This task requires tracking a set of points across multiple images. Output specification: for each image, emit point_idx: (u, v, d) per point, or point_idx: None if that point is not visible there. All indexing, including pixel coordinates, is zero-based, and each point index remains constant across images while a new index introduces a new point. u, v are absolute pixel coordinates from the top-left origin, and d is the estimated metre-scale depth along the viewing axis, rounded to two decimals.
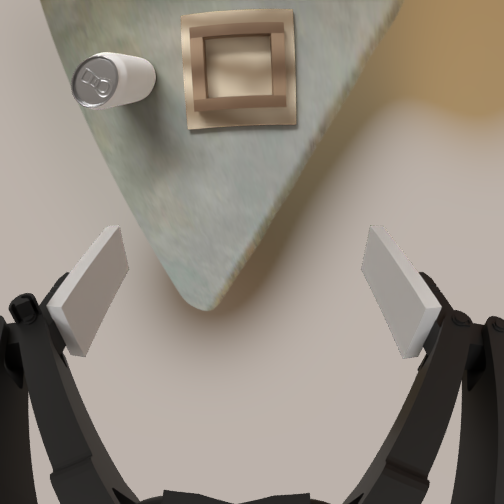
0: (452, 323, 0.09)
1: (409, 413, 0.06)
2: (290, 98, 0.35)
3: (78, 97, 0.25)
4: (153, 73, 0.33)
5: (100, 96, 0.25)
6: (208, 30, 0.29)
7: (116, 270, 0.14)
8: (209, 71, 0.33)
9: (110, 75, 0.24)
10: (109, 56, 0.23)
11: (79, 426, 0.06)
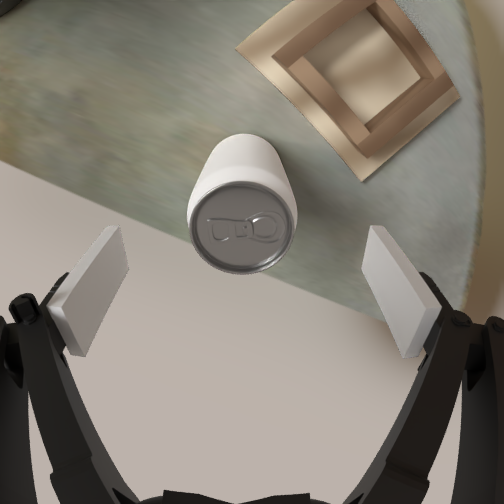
0: (452, 323, 0.09)
1: (409, 413, 0.06)
2: None
3: (231, 266, 0.18)
4: (269, 144, 0.24)
5: (271, 243, 0.17)
6: (302, 42, 0.18)
7: (116, 270, 0.14)
8: None
9: (264, 204, 0.16)
10: (231, 176, 0.16)
11: (79, 426, 0.06)
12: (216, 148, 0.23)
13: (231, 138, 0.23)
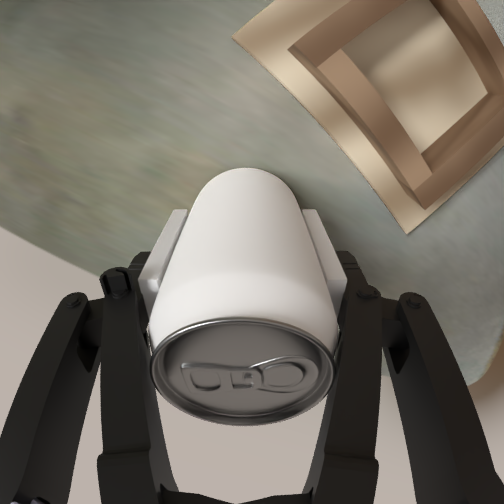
0: (358, 298, 0.10)
1: (334, 398, 0.07)
2: None
3: (226, 415, 0.10)
4: (284, 186, 0.16)
5: (293, 392, 0.09)
6: (340, 26, 0.10)
7: None
8: None
9: (284, 346, 0.08)
10: (221, 297, 0.08)
11: (146, 415, 0.06)
12: (203, 195, 0.15)
13: (226, 177, 0.16)
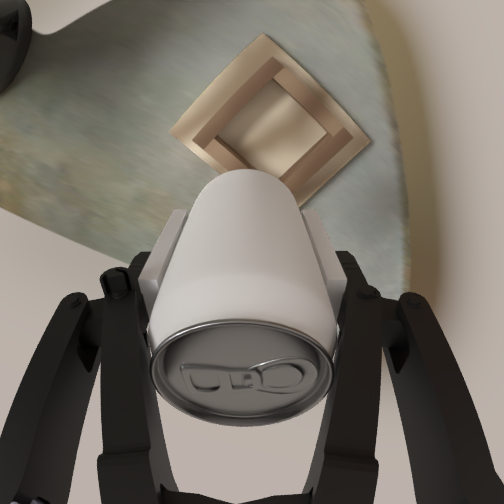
0: (358, 298, 0.10)
1: (334, 398, 0.07)
2: (345, 121, 0.29)
3: (225, 415, 0.10)
4: (283, 187, 0.16)
5: (292, 393, 0.09)
6: (212, 127, 0.27)
7: None
8: (250, 160, 0.31)
9: (283, 348, 0.08)
10: (220, 299, 0.08)
11: (146, 415, 0.06)
12: (203, 196, 0.15)
13: (226, 179, 0.16)
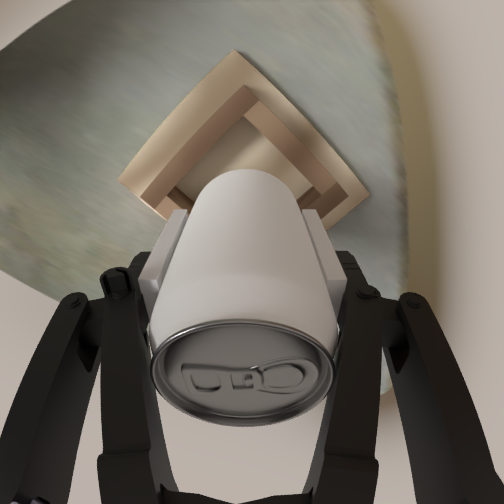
0: (358, 298, 0.10)
1: (334, 398, 0.07)
2: (339, 170, 0.23)
3: (226, 416, 0.10)
4: (284, 187, 0.16)
5: (293, 393, 0.09)
6: (164, 181, 0.21)
7: None
8: None
9: (284, 348, 0.08)
10: (221, 299, 0.08)
11: (146, 415, 0.06)
12: (203, 196, 0.15)
13: (226, 179, 0.16)
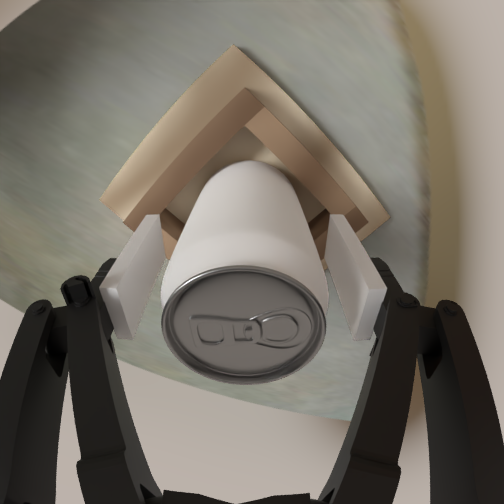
0: (398, 306, 0.10)
1: (366, 402, 0.07)
2: (357, 189, 0.20)
3: (228, 373, 0.12)
4: (283, 176, 0.18)
5: (289, 348, 0.11)
6: (150, 205, 0.18)
7: (156, 257, 0.16)
8: None
9: (280, 298, 0.10)
10: (227, 252, 0.09)
11: (117, 417, 0.06)
12: (210, 182, 0.17)
13: (231, 168, 0.17)
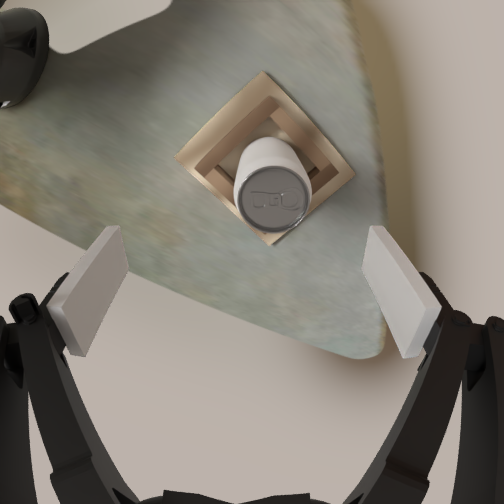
0: (452, 323, 0.09)
1: (409, 413, 0.06)
2: (333, 156, 0.33)
3: (264, 227, 0.25)
4: None
5: (294, 211, 0.24)
6: (213, 158, 0.31)
7: (116, 270, 0.14)
8: None
9: (290, 182, 0.23)
10: (268, 162, 0.23)
11: (79, 426, 0.06)
12: (249, 146, 0.30)
13: (260, 139, 0.31)
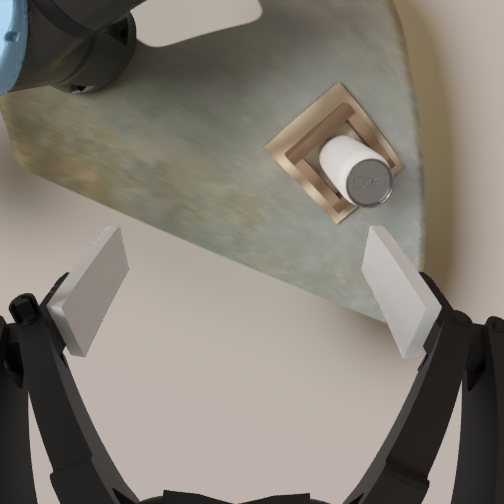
0: (452, 323, 0.09)
1: (409, 413, 0.06)
2: (389, 152, 0.40)
3: (361, 203, 0.32)
4: None
5: (382, 191, 0.31)
6: (302, 150, 0.38)
7: (116, 270, 0.14)
8: (322, 175, 0.42)
9: (381, 170, 0.30)
10: (367, 156, 0.29)
11: (79, 426, 0.06)
12: (332, 142, 0.37)
13: (339, 137, 0.37)
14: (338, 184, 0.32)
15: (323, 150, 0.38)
